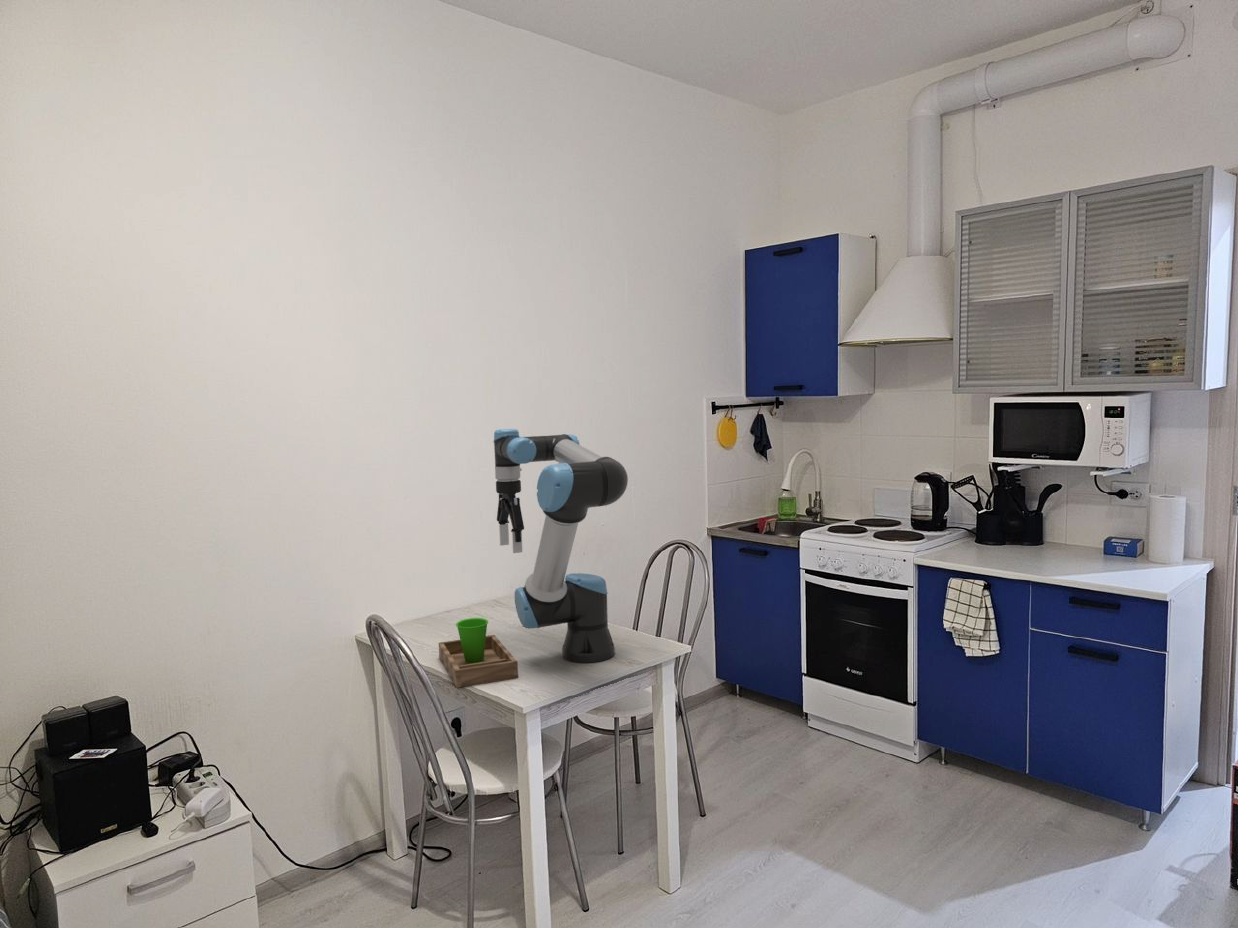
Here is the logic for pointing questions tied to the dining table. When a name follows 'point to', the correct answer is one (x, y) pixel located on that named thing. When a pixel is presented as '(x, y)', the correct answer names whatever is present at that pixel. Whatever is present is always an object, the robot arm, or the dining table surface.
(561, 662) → the dining table surface
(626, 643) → the dining table surface
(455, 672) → the crate
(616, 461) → the robot arm
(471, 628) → the cup
